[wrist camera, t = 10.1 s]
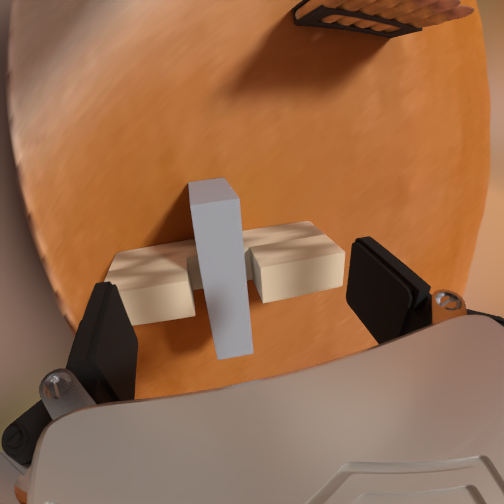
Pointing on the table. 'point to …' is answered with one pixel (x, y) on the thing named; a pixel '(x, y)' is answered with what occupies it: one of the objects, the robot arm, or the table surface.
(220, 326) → the grey block
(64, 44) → the table surface
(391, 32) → the ammunition clip
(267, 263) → the birch block
